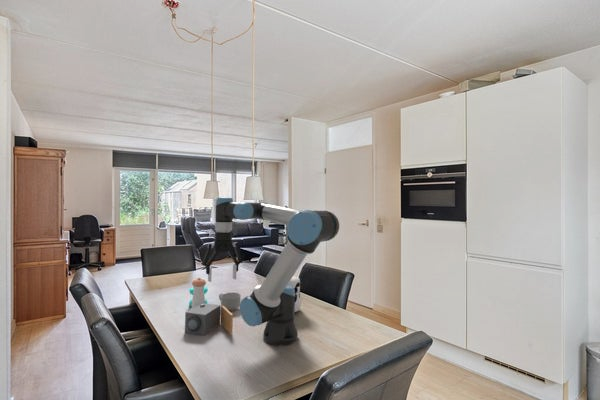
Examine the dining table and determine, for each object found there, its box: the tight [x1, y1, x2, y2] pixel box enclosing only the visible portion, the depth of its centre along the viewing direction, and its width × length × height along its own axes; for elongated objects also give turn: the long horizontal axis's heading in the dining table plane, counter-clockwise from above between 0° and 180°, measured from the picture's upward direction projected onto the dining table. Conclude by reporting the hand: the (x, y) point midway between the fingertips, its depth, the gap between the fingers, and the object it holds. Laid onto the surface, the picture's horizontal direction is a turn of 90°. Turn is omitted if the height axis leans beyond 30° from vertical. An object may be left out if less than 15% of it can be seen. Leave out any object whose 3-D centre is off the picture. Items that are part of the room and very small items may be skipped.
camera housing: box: [184, 303, 221, 336], centre depth 146 cm, size 10×16×10 cm, turn 166°
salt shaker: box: [190, 277, 207, 310], centre depth 165 cm, size 7×7×19 cm
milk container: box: [288, 275, 302, 314], centre depth 173 cm, size 17×17×18 cm
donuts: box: [188, 286, 208, 308], centre depth 179 cm, size 10×10×10 cm
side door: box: [220, 305, 234, 334], centre depth 147 cm, size 1×15×8 cm, turn 31°
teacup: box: [218, 292, 241, 312], centre depth 175 cm, size 14×11×8 cm
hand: (222, 279), depth 142 cm, fingers open, 11 cm apart
